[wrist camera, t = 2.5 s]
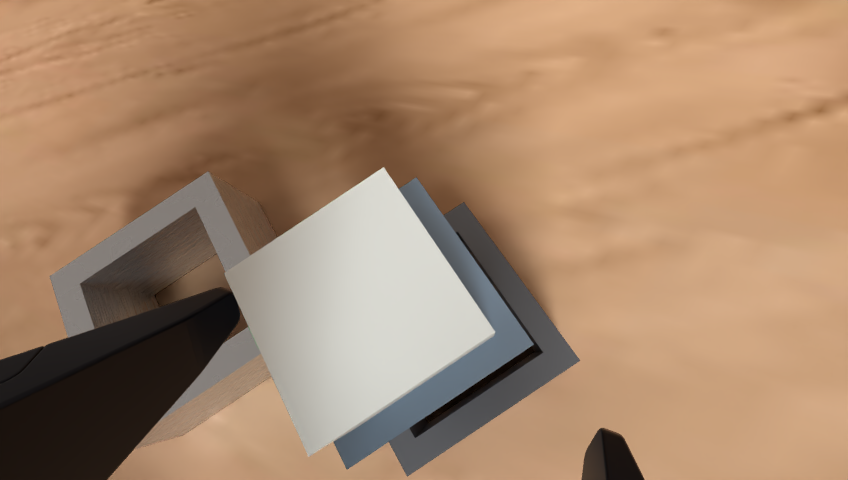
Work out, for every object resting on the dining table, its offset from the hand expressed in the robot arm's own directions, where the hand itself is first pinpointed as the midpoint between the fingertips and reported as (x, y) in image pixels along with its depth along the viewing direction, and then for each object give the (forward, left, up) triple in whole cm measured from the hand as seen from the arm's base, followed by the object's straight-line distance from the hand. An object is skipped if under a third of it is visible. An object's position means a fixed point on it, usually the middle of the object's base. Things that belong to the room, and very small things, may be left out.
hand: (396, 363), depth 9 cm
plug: (+1, +1, -9) cm, 9 cm away
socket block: (-8, +8, -9) cm, 15 cm away
